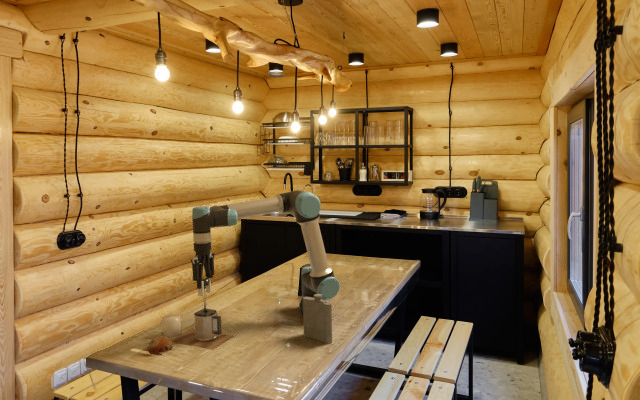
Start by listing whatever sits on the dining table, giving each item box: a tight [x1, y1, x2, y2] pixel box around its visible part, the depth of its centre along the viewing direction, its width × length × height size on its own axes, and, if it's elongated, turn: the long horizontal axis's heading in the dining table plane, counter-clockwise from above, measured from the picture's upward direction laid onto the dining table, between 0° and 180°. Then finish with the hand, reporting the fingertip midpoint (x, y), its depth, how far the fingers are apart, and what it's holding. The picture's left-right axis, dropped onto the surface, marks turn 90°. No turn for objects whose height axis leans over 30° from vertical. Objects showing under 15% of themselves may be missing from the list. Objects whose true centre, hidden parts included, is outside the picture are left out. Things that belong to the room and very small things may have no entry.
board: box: [170, 327, 235, 351], centre depth 219 cm, size 24×16×1 cm, turn 65°
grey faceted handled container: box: [193, 308, 223, 341], centre depth 219 cm, size 13×10×12 cm
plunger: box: [198, 277, 213, 317], centre depth 218 cm, size 7×7×18 cm
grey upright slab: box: [302, 294, 333, 345], centre depth 218 cm, size 16×4×20 cm, turn 49°
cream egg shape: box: [160, 314, 182, 338], centre depth 224 cm, size 9×8×9 cm
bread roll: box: [147, 335, 174, 356], centre depth 209 cm, size 10×10×8 cm
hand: (204, 293), depth 218 cm, fingers closed on plunger, 4 cm apart
